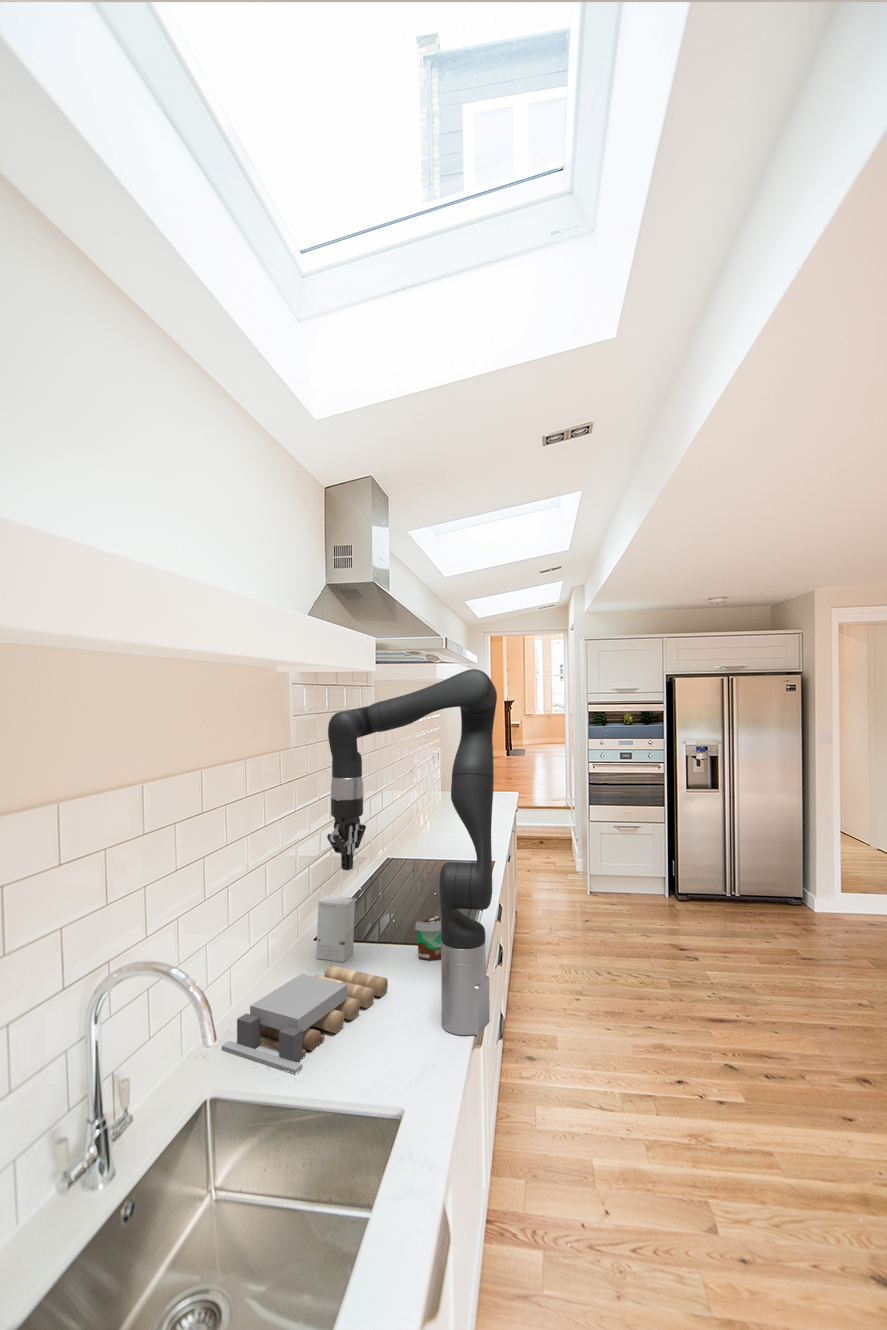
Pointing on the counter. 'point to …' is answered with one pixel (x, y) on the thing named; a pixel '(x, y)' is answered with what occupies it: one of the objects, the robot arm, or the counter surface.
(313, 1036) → the roller
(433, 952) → the food container
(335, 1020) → the roller bed
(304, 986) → the slab
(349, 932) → the skincare box
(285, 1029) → the bumper posts
